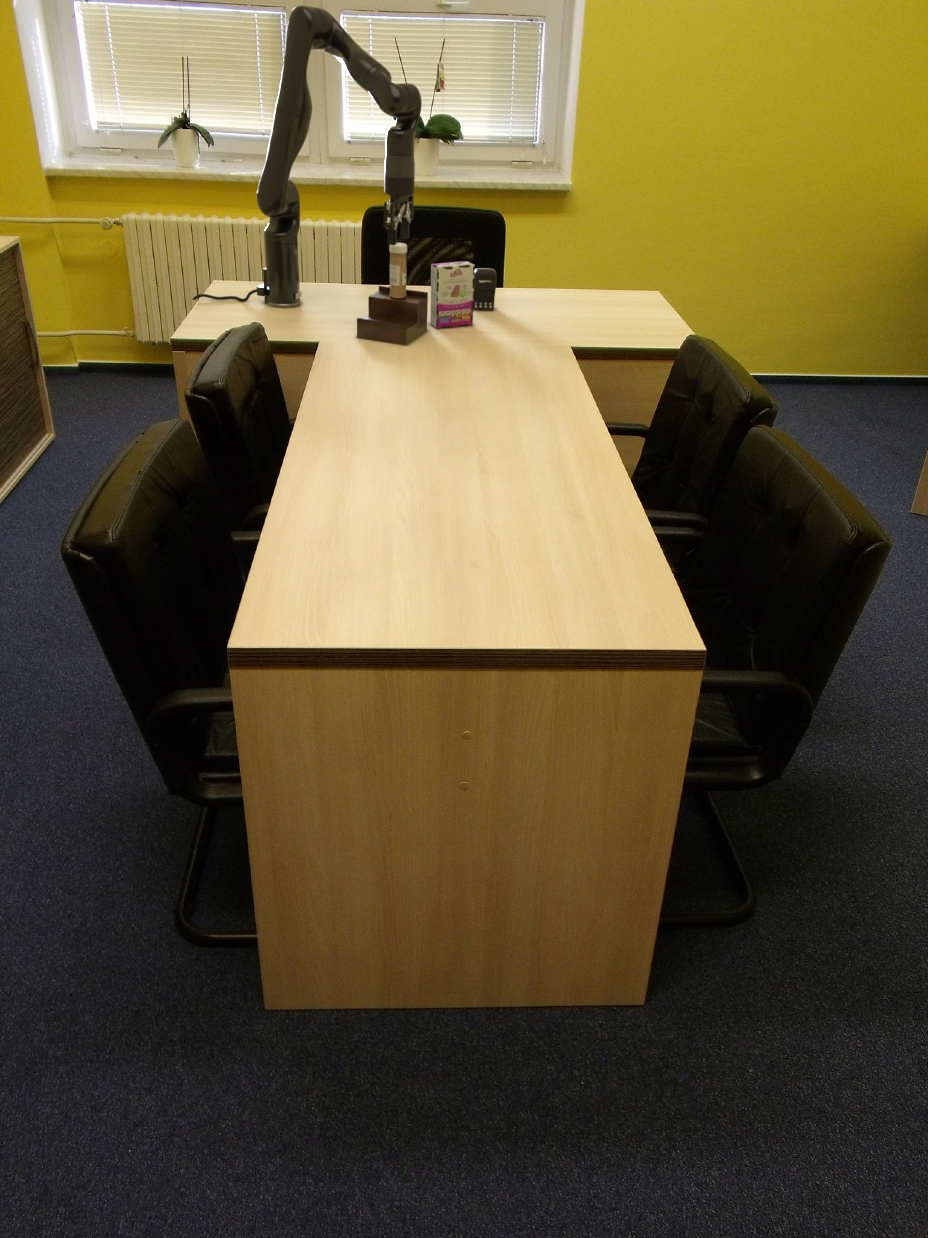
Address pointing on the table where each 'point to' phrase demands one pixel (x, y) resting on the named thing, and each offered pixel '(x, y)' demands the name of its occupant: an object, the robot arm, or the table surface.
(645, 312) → the table surface
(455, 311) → the candy bar box
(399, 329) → the shelf
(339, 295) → the table surface
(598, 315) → the table surface
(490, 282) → the black battery charger
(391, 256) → the sprinkles bottle
